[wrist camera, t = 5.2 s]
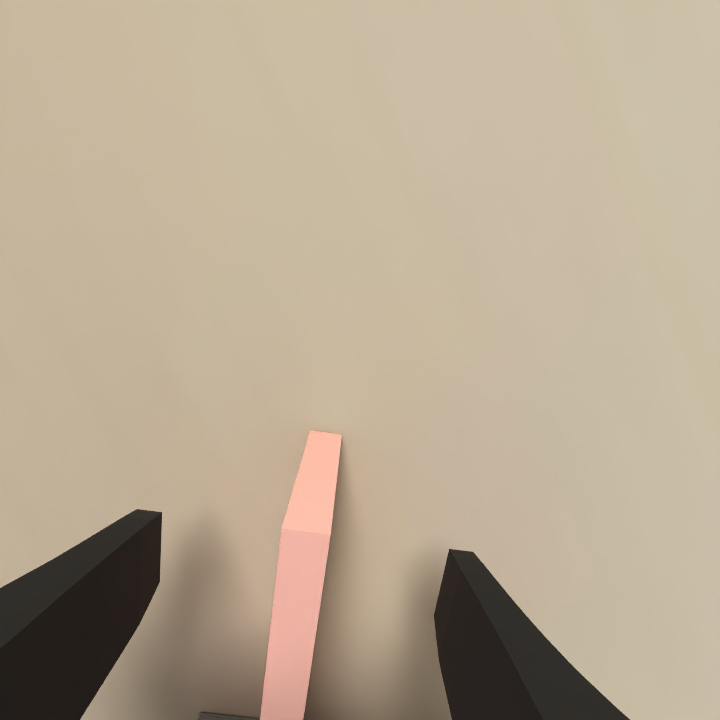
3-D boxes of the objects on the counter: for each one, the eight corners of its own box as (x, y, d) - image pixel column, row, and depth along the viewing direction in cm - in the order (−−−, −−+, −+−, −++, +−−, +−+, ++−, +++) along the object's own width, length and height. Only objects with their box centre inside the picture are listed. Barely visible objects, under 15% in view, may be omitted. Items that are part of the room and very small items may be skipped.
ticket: (271, 736, 16) (236, 928, 12) (310, 430, 13) (281, 528, 9) (297, 738, 16) (272, 931, 12) (341, 434, 13) (330, 534, 9)
